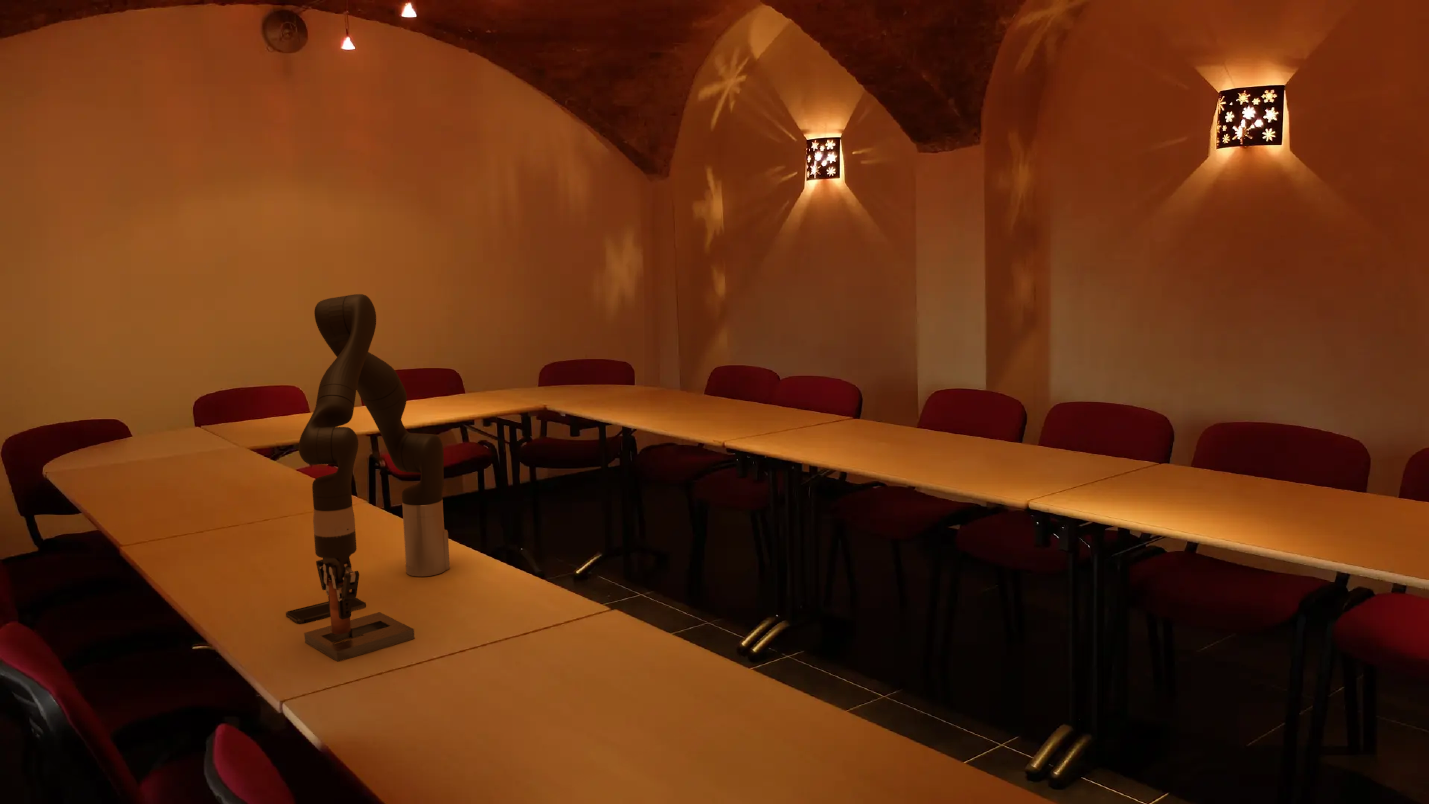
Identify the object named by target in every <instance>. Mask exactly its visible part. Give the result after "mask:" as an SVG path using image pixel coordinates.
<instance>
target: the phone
mask: <svg viewBox="0 0 1429 804" xmlns="http://www.w3.org/2000/svg"><path fill="white" fill-rule="evenodd" d="M350 602H351V613H352V612H355V611H358V610H359V611H360V610H362V609H365V608H366V607H367V603H366V602H365V601H364V600H361V599H359V598H358V597H357V596H356V597H355V598H351V599H350ZM285 617H286V618H287V619H289V620H290V621H292V622H294V623H295V624H297V625H305V624H308V623H313V622H316V620H317V621H320V620H324V619H327V618H331V613H330V612H329V600H327V601H325V602H320V603H316V604H312V605H308V606H304V607H300V608H296V609H292V610H291V609H290V610H289V611H286V612H285Z"/></svg>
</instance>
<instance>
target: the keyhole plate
mask: <svg viewBox="0 0 1429 804" xmlns="http://www.w3.org/2000/svg"><path fill="white" fill-rule="evenodd" d="M350 625H351V631H349V632H347V633H344V634H333V633H332V627H331V625H328V626H324V627H321V628H320V627H319V628H317V629H313V630H310V631H305V632H304V633H303V635H304V643H305V644H307V645H308V646H310V647H312V648H314V649H315V650H317V651H318V652H320V653H322V654H324V655H325V656H327V657H329V658H331V659H332V660H334V661H335V662H337V663H338V662H342V661H344V660H345V661H346V660H348V659H352V658H355V657H359V656H361V655H364V654H365V655H366V654H369V653H371V652H374V651H378V650H381V649H384V648H388V647H392V646H395V645H398V644H401V643H406V642H408V641H410V640H414V639H415V628H413V627H410V626H409V625H407V624H405V623H402V622H401V621H398V620H397V619H394V618H392V617H390V616H388V615H387V614H385V613H382V612H380V611H379V612H375V613H371V614H368V615H364V616H361V617H355V618H353V619H350ZM349 638H350V639H349ZM345 639H347V640H345ZM342 640H343V641H342ZM336 642H337V643H336Z"/></svg>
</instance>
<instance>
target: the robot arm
mask: <svg viewBox="0 0 1429 804" xmlns="http://www.w3.org/2000/svg"><path fill="white" fill-rule="evenodd" d="M314 320H315V323H316V327H317V329H318V331H319V334H320V336H321V337H322V338H323V340H324V342H325V344H327V345H328V347H329V348H330V350H331V351H332V353H333V354H334V355H335V356H336V357H335V359H334V360H333V362H331V364H330V365H329V367H328V368H327V369H326V370H325V372H324V373H323V376H322V378H321V379H320V383H319V386H318V390H317V397H316V401H315V402H316V404H315V407H314V410H313V412H312V414H311V416H310V419H309V421H308V422H307V423H306V425H305V427H304V429H303V430H302V433H301V435H300V437H299V438H300V439H299V441H298V454H299V456H300V457H301V459H302V461H303V462H304V463H306V464H308V465H312V466H314V465H319V466H320V465H337V470H336V472H334V473H330V474H325V475H321V476H318V477H316V478H315V479H314V480H313V481H312V484H311V485H312V487H311V488H312V489H311V490H312V504H313V516H312V517H313V518H312V519H313V520H312V522H313V523H312V524H313V539H314V552H315V553H314V554H315V555H316V556H317V557H318V558H320V559H318V560H316V561H315V564H316V568H317V573H318V578H319V581H320V586H321V589H322V591H325V594H326V596H328V601H329V612H330V598H329V583H328V582H329V581H332V583H333V588H334V589H335V590H336V591H337V598H338V611H339V618H340V619H346V618H350V619H351V617H352V612H351V602H350V599H351V598H355V597H356V598H357V594H358V587H359V579H360V572H359V570H356V571H353V569H352V563H351V559H350V557H351V555H353V554H355V553H356V552H357V549H358V548H357V538H356V537H357V535H356V534H357V533H356V519H355V512H354V508H353V506H354V505H353V496H352V495H353V493H352V480H353V473H354V472H353V471H354V467H355V462H356V458H357V454H358V451H359V450H358V449H359V438H358V436H357V433H356V432H355V431H354V429H352V428H351V427H348V426H344V425H346V424H348V423H350V421H352V418H353V416H354V409H355V403H356V396H357V394H358V396H359V398H360V399H361V401H362V403H363V404H364V406H365V408H366V410H367V411H368V412H369V414H370V416H371V417H372V419H373V421H374V424H375V425H376V428H378V431H379V433H380V435H381V438H382V440H383V443H384V445H385V448H386V451H387V452H388V455H389V457H390V460H391V461H392V463H393V465H394V466H395V468H396V469H397V470H399V471H401V472H404V473H412V474H413V473H415V474H420V481H419V483H417V484H413V485H411V486H408V487H406V488H404V489H403V490H402V492H401V501H402V502H401V505H402V519H403V536H404V537H403V538H404V554H405V555H404V556H405V557H404V558H405V570H406V571H405V572H406V574H407V575H409V576H413V577H430V576H437V575H439V574H442V573H444V572H446V571H447V570H450V569H451V566H450V547H449V544H450V543H449V532H448V529H445V522H444V520H445V519H444V517H445V516H444V503H443V502H444V500H443V492H444V484H445V482H444V481H445V479H444V477H445V475H444V473H445V472H444V468H445V467H444V461H445V456H444V455H445V454H444V446H443V442H442V440H441V438H440V436H438V435H437V434H432V433H418V432H417V433H415V432H409V431H408V430H407V429H406V427H405V424H403V420H402V418H403V414H404V412H405V409H406V405H407V401H408V399H407V397H408V396H407V395H408V394H407V391H406V389H405V387H404V386H405V385H404V384H403V382H402V381H401V379H400V376H399V374H398V373H397V371H396V369H394V368H393V367H392V365H390V364H389V363H387V362H386V361H384V360H383V359H381V358H379V357H378V356H376V355H375V354H374V353H371V352H369V351H370V347H371V345H372V341H373V338H374V336H375V331H376V326H377V312H376V309H375V306H374V304H373V301H372V300H371V299H370V297H369V296H367V295H365V294H362V293H357V294H356V293H355V294H348V295H342V296H336V297H330V298H326V299H321V300H320V301H319V302H317V303H316V305H315V307H314ZM340 582H343V584H340V585H339V584H338V583H340ZM342 588H343V589H342ZM341 589H342V591H341Z"/></svg>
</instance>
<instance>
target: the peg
mask: <svg viewBox="0 0 1429 804" xmlns="http://www.w3.org/2000/svg"><path fill="white" fill-rule="evenodd" d="M328 583H329V595H328V596H329V598H330V613H331V617H330V623H331V624H330V626H331V627H332V633H333V634H344V633H347V632H349V631H351V625H350V620H351V617H350V618H346V619H340V618H339V611H338V598H337V591H336V590H335V589H334V588H333V583H332V581H329V582H328ZM338 584H339V585H340V584H343V582H340V583H338ZM342 589H343V588H342ZM342 589H341V591H342ZM329 598H328V599H329Z"/></svg>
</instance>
